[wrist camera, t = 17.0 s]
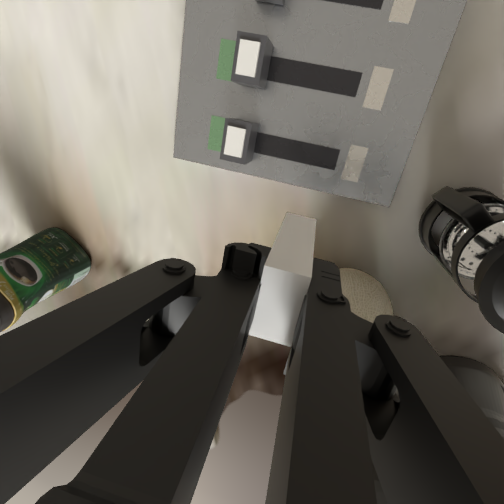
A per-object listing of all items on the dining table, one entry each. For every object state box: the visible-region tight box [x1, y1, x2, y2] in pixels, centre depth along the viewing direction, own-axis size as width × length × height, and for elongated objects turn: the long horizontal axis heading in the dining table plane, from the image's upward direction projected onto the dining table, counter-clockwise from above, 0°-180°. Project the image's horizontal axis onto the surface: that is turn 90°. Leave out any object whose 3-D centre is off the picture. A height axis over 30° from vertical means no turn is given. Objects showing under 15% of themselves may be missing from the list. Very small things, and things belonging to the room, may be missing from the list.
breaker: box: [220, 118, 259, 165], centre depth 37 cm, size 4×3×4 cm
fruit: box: [340, 268, 393, 323], centre depth 38 cm, size 10×12×15 cm
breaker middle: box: [231, 31, 273, 90], centre depth 33 cm, size 4×3×4 cm
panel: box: [173, 0, 467, 207], centre depth 36 cm, size 24×28×2 cm
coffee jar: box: [0, 228, 91, 332], centre depth 45 cm, size 10×8×19 cm
